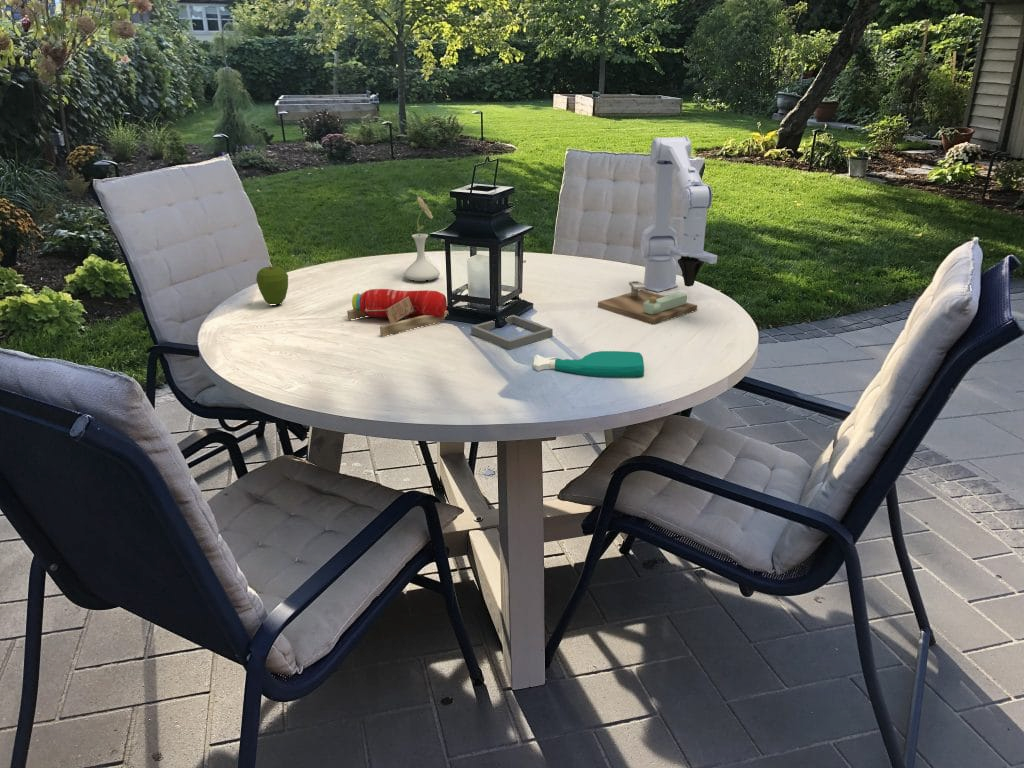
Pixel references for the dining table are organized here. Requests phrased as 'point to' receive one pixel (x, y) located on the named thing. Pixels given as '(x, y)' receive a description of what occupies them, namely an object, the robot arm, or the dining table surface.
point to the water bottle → (400, 303)
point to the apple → (273, 284)
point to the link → (665, 303)
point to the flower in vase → (421, 254)
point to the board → (634, 305)
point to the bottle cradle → (400, 322)
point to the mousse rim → (539, 334)
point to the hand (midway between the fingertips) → (688, 285)
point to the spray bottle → (597, 364)
